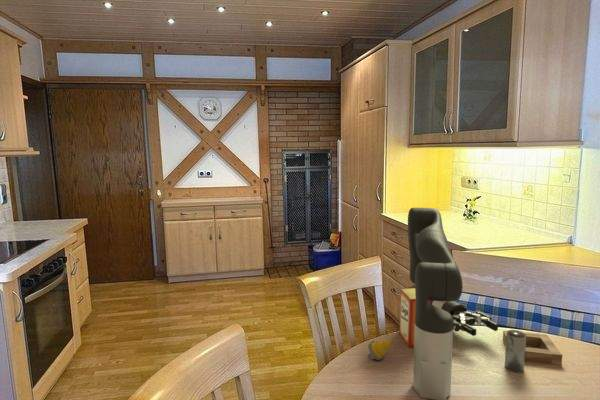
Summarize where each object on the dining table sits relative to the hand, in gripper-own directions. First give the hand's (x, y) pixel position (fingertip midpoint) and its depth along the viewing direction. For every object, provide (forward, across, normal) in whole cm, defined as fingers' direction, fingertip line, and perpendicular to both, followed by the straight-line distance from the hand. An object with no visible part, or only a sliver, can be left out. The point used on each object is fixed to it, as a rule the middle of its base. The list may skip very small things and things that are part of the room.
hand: (486, 330), depth 118 cm
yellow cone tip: (-8, -32, +7) cm, 34 cm away
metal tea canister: (+10, 0, +6) cm, 12 cm away
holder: (+5, +12, +6) cm, 15 cm away
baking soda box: (-14, -16, +7) cm, 22 cm away
